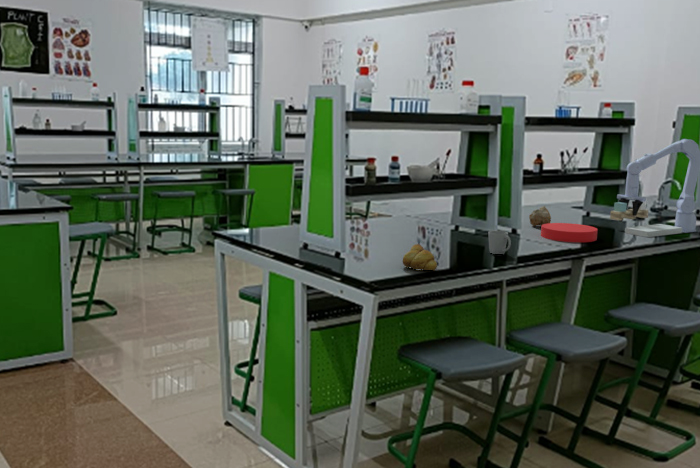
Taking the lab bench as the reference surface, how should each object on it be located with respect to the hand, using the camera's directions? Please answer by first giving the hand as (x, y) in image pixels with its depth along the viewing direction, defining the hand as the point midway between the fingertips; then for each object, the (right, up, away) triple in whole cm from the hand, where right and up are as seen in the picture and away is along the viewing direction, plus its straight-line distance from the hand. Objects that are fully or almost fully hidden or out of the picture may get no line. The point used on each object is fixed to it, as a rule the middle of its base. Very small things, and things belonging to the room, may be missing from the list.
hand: (629, 214), depth 325 cm
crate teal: (-6, +2, -4) cm, 8 cm away
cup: (-79, -18, -66) cm, 104 cm away
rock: (-44, -6, +2) cm, 44 cm away
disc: (-38, -11, -26) cm, 48 cm away
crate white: (+6, +3, +3) cm, 8 cm away
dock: (+7, -9, -11) cm, 15 cm away
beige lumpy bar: (0, -2, 0) cm, 2 cm away
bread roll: (-113, -22, -93) cm, 148 cm away
